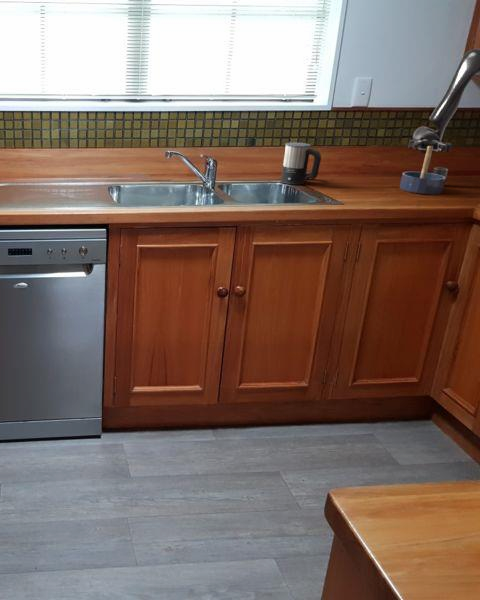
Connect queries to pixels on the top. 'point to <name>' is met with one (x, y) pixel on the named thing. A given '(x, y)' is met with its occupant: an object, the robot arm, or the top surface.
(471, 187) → the top surface
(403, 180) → the bowl
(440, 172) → the holder
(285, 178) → the milk frother
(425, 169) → the stick
